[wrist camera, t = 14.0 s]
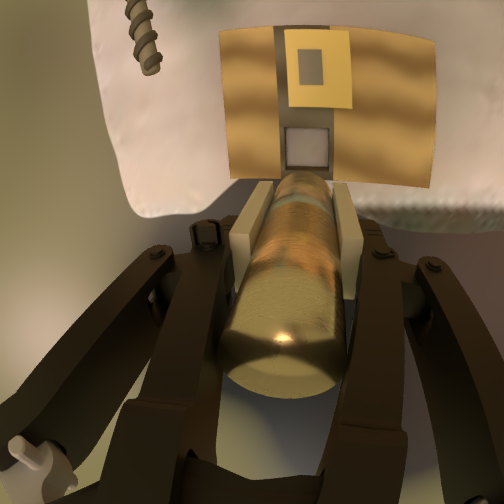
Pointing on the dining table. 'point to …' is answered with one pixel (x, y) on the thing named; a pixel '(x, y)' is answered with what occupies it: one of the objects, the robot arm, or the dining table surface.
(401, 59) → the subfloor panel
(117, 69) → the dining table surface
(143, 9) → the power drill
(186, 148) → the dining table surface
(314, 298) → the brass cylinder rod
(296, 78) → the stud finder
